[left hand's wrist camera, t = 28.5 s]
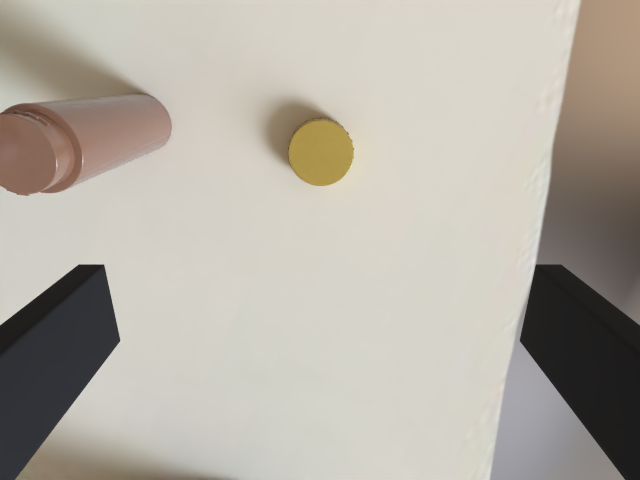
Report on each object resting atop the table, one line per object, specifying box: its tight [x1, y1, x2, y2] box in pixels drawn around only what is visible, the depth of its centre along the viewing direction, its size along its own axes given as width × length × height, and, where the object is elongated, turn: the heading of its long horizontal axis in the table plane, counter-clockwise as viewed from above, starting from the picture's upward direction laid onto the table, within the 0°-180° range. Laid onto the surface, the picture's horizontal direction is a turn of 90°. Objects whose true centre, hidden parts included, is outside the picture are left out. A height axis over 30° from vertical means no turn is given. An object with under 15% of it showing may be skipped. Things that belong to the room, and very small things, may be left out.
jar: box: [0, 94, 171, 196], centre depth 30 cm, size 5×5×17 cm
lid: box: [288, 118, 354, 186], centre depth 38 cm, size 6×6×2 cm
